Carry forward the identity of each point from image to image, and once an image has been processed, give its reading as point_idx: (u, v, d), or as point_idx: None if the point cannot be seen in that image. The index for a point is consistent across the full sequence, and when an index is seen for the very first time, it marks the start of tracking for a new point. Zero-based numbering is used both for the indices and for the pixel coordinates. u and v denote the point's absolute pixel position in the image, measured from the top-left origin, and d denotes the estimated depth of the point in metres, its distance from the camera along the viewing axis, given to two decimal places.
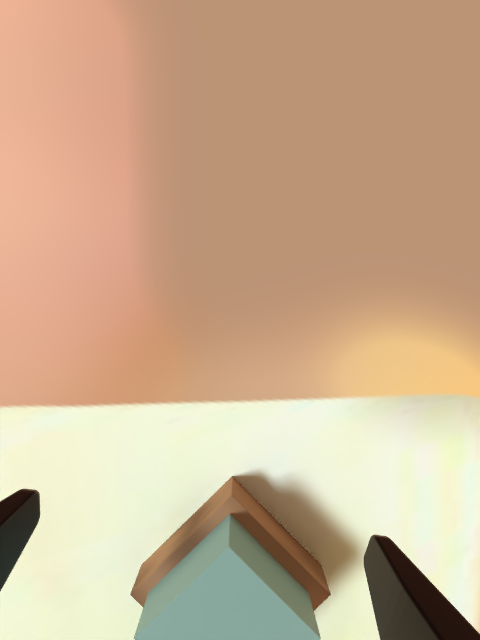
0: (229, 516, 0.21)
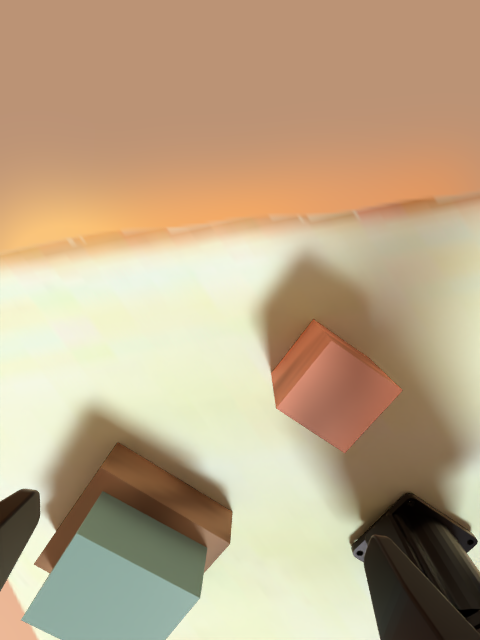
0: None
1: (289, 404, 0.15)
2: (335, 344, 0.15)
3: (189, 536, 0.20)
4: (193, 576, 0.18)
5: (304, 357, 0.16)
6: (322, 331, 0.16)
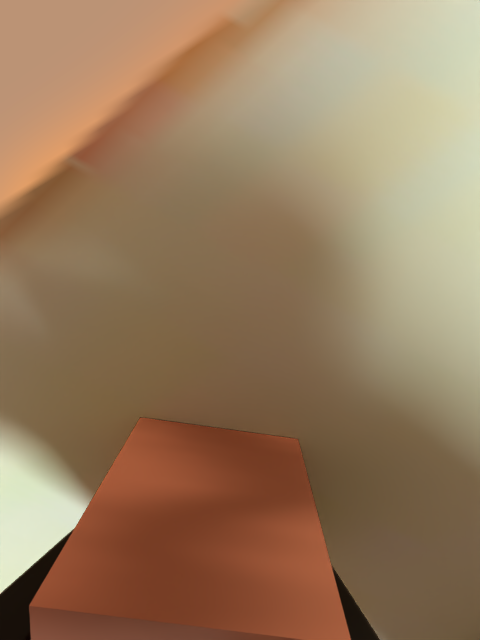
0: None
1: None
2: (52, 609, 0.04)
3: None
4: None
5: None
6: (93, 500, 0.06)
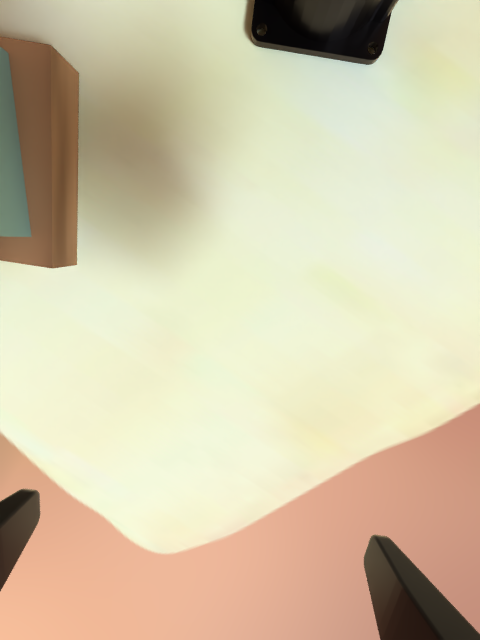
0: None
1: None
2: None
3: None
4: None
5: None
6: None
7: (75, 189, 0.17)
